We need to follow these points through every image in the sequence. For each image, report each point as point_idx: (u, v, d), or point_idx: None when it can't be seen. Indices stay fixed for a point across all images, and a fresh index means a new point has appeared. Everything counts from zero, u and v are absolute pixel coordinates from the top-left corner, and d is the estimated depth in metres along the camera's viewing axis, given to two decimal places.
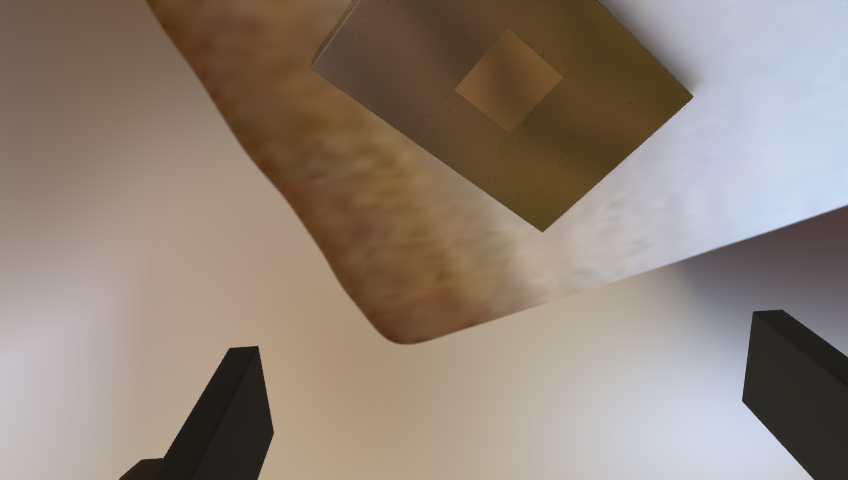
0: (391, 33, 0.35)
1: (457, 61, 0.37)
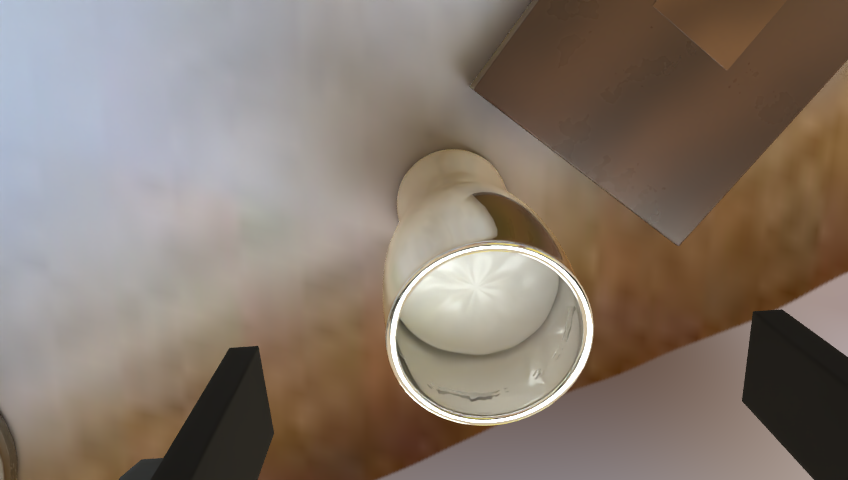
0: (646, 154, 0.30)
1: (688, 69, 0.28)
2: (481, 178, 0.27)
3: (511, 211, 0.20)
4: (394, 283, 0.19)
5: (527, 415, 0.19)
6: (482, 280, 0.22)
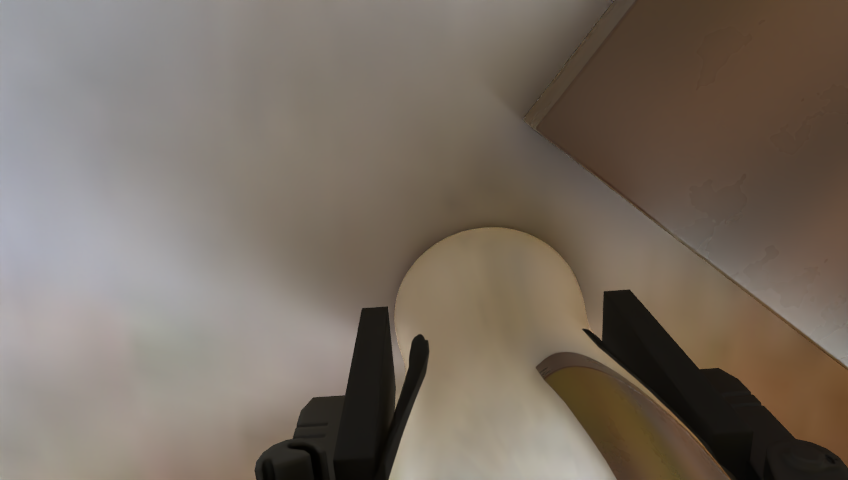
0: (843, 244, 0.17)
1: None
2: (554, 305, 0.14)
3: None
4: None
5: None
6: None
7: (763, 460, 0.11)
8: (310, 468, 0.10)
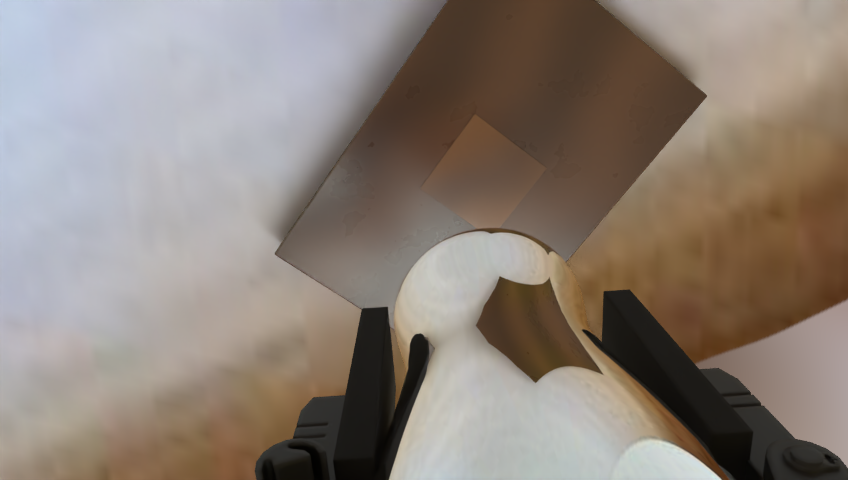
0: None
1: None
2: (553, 306, 0.14)
3: None
4: None
5: None
6: None
7: (763, 460, 0.11)
8: (310, 468, 0.10)
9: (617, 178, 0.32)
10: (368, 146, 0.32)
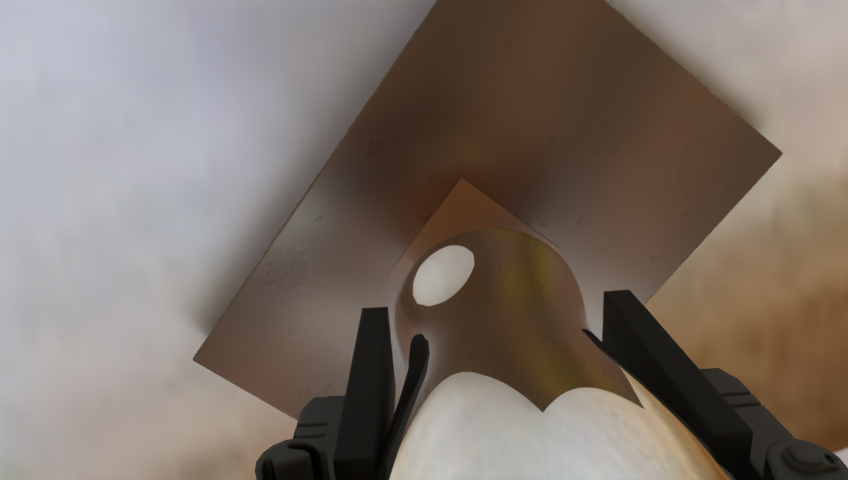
0: None
1: None
2: (554, 305, 0.14)
3: None
4: None
5: None
6: None
7: (763, 460, 0.11)
8: (310, 468, 0.10)
9: (656, 262, 0.24)
10: (314, 220, 0.23)
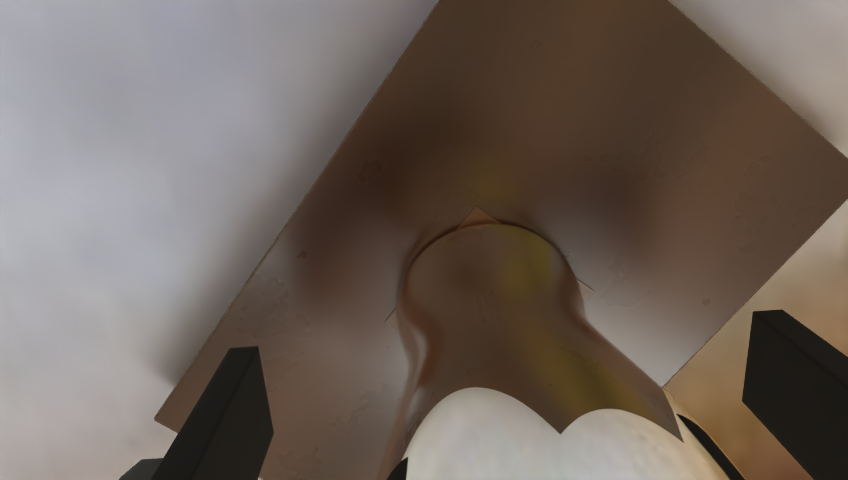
0: None
1: None
2: (554, 298, 0.15)
3: None
4: None
5: None
6: None
7: None
8: None
9: (709, 306, 0.20)
10: (297, 257, 0.19)
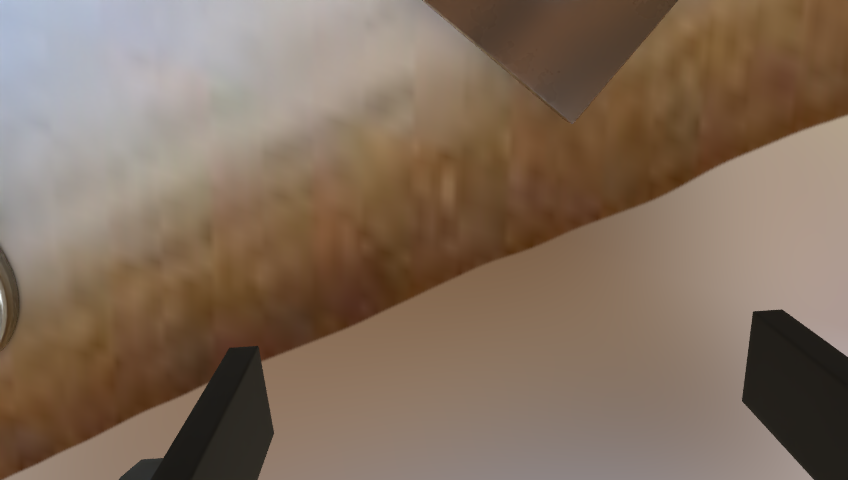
0: (543, 41, 0.36)
1: None
2: None
3: None
4: None
5: None
6: None
7: None
8: None
9: None
10: None
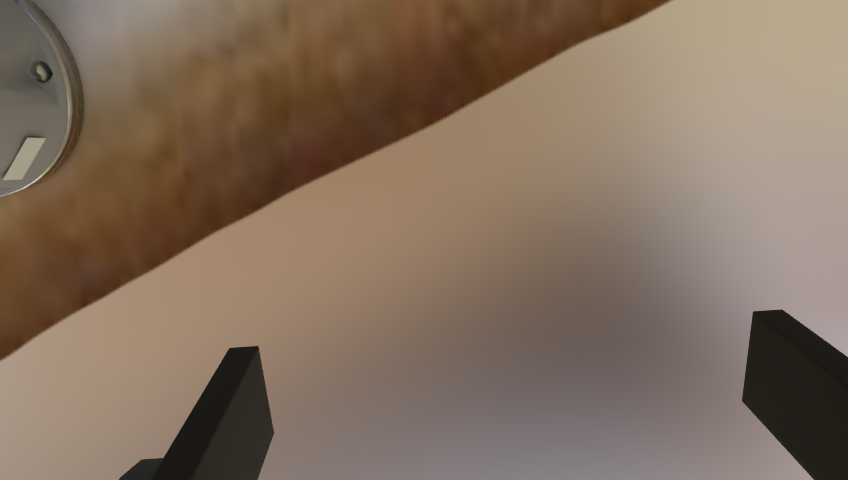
0: None
1: None
2: None
3: None
4: None
5: None
6: None
7: None
8: None
9: None
10: None
